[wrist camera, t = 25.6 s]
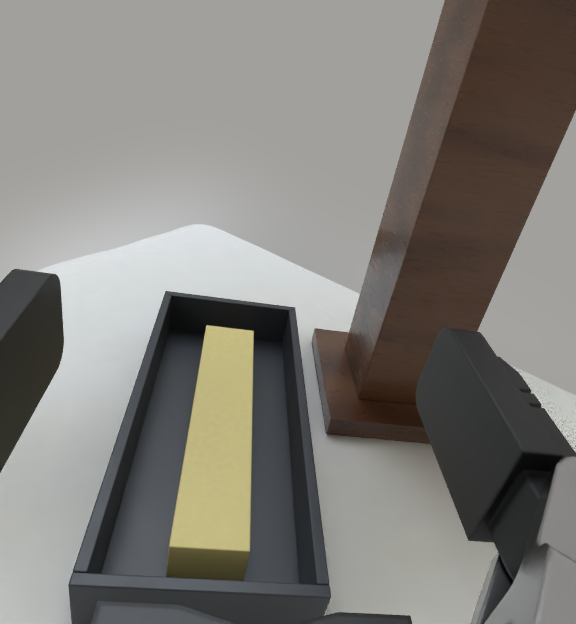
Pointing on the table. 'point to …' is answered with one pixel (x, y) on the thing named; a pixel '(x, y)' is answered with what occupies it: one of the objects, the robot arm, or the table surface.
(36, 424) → the table surface
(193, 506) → the butter
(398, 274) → the shelf stand
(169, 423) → the pan
